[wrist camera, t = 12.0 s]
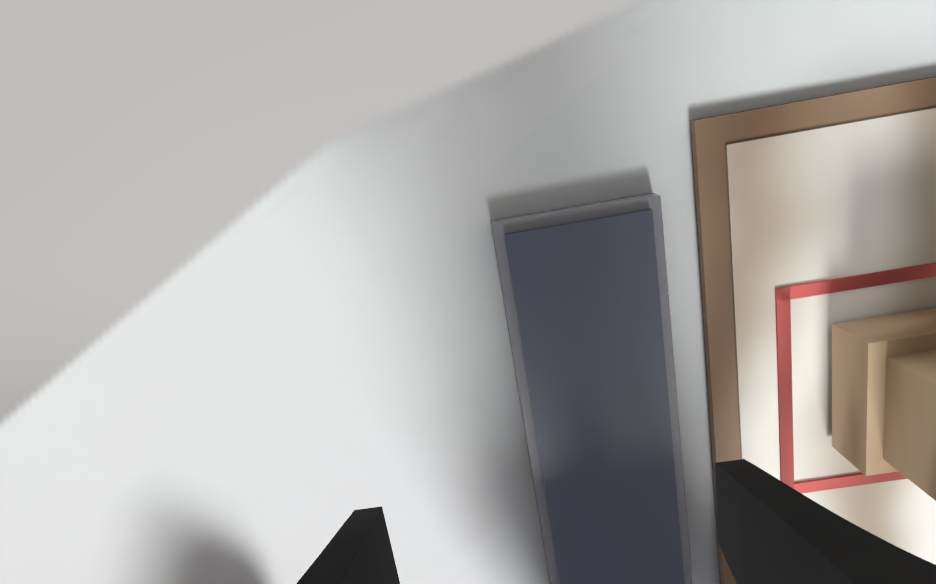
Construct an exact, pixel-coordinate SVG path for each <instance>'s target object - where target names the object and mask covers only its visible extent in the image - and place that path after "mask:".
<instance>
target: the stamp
mask: <svg viewBox="0 0 936 584" xmlns="http://www.w3.org/2000/svg"><path fill="white" fill-rule="evenodd" d="M832 447H833V448H834V449H835V450H837V451H838V452H839V453H840V454H841V455H842V456H844V457H845V458H846V459H847V460H848V461H849V462H850V463H852V464H853V465H854V466H855V467H856V468H857V469H858V470H860V471H861V472H862V473H863V474H864V475H865V476H869V475H876V474H883V473H890V472H898V471H899V472H900V473H901V474H903V475H904V476H905V477H906V478H908V479H909V480H910V481H911V482H913V483H914V484H915V485H916V486H918V487H919V488H920V489H921V490H923V491H924V492H925V493H926V494H928V495H929V496H930V497H931V498H933V499H934V500H935V501H936V308H932V309H926V310H919V311H913V312H906V313H900V314H894V315H887V316H881V317H874V318H868V319H862V320H855V321H849V322H843V323H836V324H832Z"/></svg>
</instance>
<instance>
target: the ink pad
mask: <svg viewBox="0 0 936 584" xmlns="http://www.w3.org/2000/svg"><path fill="white" fill-rule="evenodd" d="M491 226H492V232H493V238H494V244H495V250H496V256H497V262H498V268H499V275H500V281H501V287H502V293H503V299H504V305H505V311H506V317H507V323H508V329H509V335H510V341H511V347H512V353H513V359H514V366H515V372H516V378H517V384H518V390H519V396H520V402H521V408H522V414H523V420H524V426H525V432H526V438H527V444H528V450H529V457H530V463H531V469H532V475H533V481H534V487H535V493H536V499H537V505H538V511H539V517H540V523H541V529H542V535H543V541H544V548H545V554H546V560H547V566H548V572H549V578H550V584H692V577H691V565H690V553H689V540H688V528H687V516H686V504H685V492H684V479H683V467H682V455H681V443H680V431H679V418H678V406H677V394H676V382H675V370H674V357H673V345H672V333H671V321H670V309H669V296H668V284H667V272H666V260H665V248H664V235H663V223H662V211H661V199H660V195H657V194H654V193H652V194H646V195H640V196H634V197H628V198H623V199H617V200H611V201H605V202H600V203H594V204H588V205H582V206H576V207H571V208H565V209H559V210H553V211H547V212H542V213H536V214H530V215H524V216H518V217H513V218H507V219H501V220H495V221H491Z"/></svg>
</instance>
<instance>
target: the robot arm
mask: <svg viewBox="0 0 936 584" xmlns="http://www.w3.org/2000/svg"><path fill="white" fill-rule="evenodd" d="M715 481H716V504H717V526H718V544H719V546H720V548H721V550H722V553H723V555H724V557H725V559H726V562H727V564H728V566H729V568H730V570H731V572H732V575H733V577H734V579H735V581H736V583H737V584H936V565H935V564H933V563H931V562H928V561H926V560H924V559H922V558H920V557H917V556H915V555H913V554H911V553H909V552H907V551H905V550H903V549H901V548H899V547H897V546H895V545H893V544H891V543H889V542H887V541H885V540H883V539H881V538H879V537H877V536H876V535H874V534H872V533H870V532H868V531H866V530H864V529H862V528H860V527H858V526H857V525H855V524H853V523H851V522H849V521H848V520H846V519H844V518H842V517H840V516H839V515H837V514H835V513H833V512H832V511H830V510H828V509H827V508H825V507H823V506H821V505H820V504H818V503H816V502H815V501H813V500H811V499H810V498H808V497H806V496H805V495H803V494H801V493H800V492H798V491H796V490H795V489H793V488H791V487H790V486H788V485H787V484H785V483H783V482H782V481H780V480H778V479H777V478H775V477H774V476H772V475H770V474H769V473H767V472H765V471H764V470H762V469H760V468H759V467H757V466H755V465H754V464H752V463H750V462H748V461H747V460H745V459H740V460H732V461H725V462H717V463H715ZM297 584H400V582H399V578H398V573H397V569H396V565H395V561H394V556H393V552H392V548H391V544H390V539H389V535H388V531H387V527H386V522H385V518H384V514H383V510H382V507H376V508H368V509H360V510H355V511H354V512H353V513H352V514H351V516H350V517H349V518H348V519H347V521H346V522H345V523H344V524H343V526H342V527H341V528H340V529H339V531H338V532H337V533H336V535H335V536H334V537H333V538H332V540H331V541H330V542H329V544H328V545H327V546H326V548H325V549H324V550H323V551H322V553H321V554H320V555H319V557H318V558H317V559H316V560H315V561H314V563H313V564H312V565H311V566H310V568H309V569H308V570H307V571H306V573H305V574H304V575H303V576H302V578H301V579H300V580H299V581H298V582H297Z"/></svg>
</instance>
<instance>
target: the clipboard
mask: <svg viewBox="0 0 936 584" xmlns="http://www.w3.org/2000/svg"><path fill="white" fill-rule="evenodd" d="M690 122H691V137H692V152H693V168H694V183H695V198H696V214H697V229H698V244H699V260H700V275H701V290H702V306H703V321H704V336H705V352H706V367H707V382H708V398H709V413H710V428H711V444H712V459H713V474H714V490H715V505H716V520H717V504H716V481H715V463H717V462H725V461H732V460H740V459H745V460H747V461H748V462H750V463H752V464H754V465H755V466H757V467H759V468H760V469H762V470H764V471H765V472H767V473H769V474H770V475H772V476H774V477H775V478H777V479H778V480H780V481H782V482H783V483H785V484H787V485H788V486H790V487H791V488H793V489H795V490H796V491H798V492H800V493H801V494H803V495H805V496H806V497H808V498H810V499H811V500H813V501H815V502H816V503H818V504H820V505H821V506H823V507H825V508H827V509H828V510H830V511H832V512H833V513H835V514H837V515H839V516H840V517H842V518H844V519H846V520H848V521H849V522H851V523H853V524H855V525H857V526H858V527H860V528H862V529H864V530H866V531H868V532H870V533H872V534H874V535H876V536H877V537H879V538H881V539H883V540H885V541H887V542H889V543H891V544H893V545H895V546H897V547H899V548H901V549H903V550H905V551H907V552H909V553H911V554H913V555H915V556H917V557H920V558H922V559H924V560H926V561H928V562H931V563H933V564H935V565H936V501H935V500H934V499H933V498H931V497H930V496H929V495H928V494H926V493H925V492H924V491H923V490H921V489H920V488H919V487H918V486H916V485H915V484H914V483H913V482H911V481H910V480H909V479H908V478H906V477H905V476H904V475H903V474H901V473H900V472H899V471H898V472H890V473H883V474H876V475H869V476H865V475H864V474H863V473H862V472H861V471H860V470H858V469H857V468H856V467H855V466H854V465H853V464H852V463H850V462H849V461H848V460H847V459H846V458H845V457H844V456H842V455H841V454H840V453H839V452H838V451H837V450H835V449H834V448H833V447H832V324H836V323H843V322H849V321H855V320H862V319H868V318H874V317H881V316H887V315H894V314H900V313H906V312H913V311H919V310H926V309H932V308H936V77H932V78H926V79H921V80H915V81H910V82H904V83H898V84H893V85H887V86H882V87H876V88H871V89H865V90H859V91H854V92H848V93H843V94H837V95H831V96H826V97H820V98H815V99H809V100H804V101H798V102H792V103H787V104H781V105H776V106H770V107H765V108H759V109H753V110H748V111H742V112H737V113H731V114H726V115H720V116H714V117H709V118H703V119H698V120H692V121H690ZM717 536H718V526H717ZM718 551H719V566H720V582H721V584H737V583H736V581H735V579H734V577H733V575H732V572H731V570H730V568H729V566H728V564H727V562H726V559H725V557H724V555H723V553H722V550H721V548H720V546H719V544H718Z"/></svg>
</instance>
